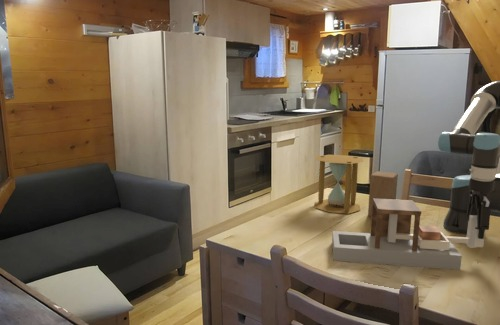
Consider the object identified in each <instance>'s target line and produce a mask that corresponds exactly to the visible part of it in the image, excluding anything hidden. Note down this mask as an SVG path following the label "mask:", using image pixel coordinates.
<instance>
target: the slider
mask: <svg viewBox="0 0 500 325" xmlns="http://www.w3.org/2000/svg"><path fill="white" fill-rule="evenodd" d="M397 217H398V214H389V225H388V238H387V240H388V242H393V243H395V242H396V239H406V240H413V233H410V234H403V233H396V229H397ZM475 227H477V215H470V218H469V226H468V235H467V234H466V236H465V237H464V236H452V235H451V236H449V235H445V234H444V233H443V232H442V231H440V232H441V233H440V241H438V240H422V238H421V237H420V235H419V236H418V246H419V248H422V249H437V250H449V246H450V242H451V243H455V244H457V243H458V244H465V245H466V246H467V247H468V248H472V249H473V248H474V249H476V248H477V247H474V240H475V232H476V229H475Z"/></svg>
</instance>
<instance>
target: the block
mask: <svg viewBox="0 0 500 325" xmlns="http://www.w3.org/2000/svg"><path fill="white" fill-rule="evenodd" d="M441 232H442V231H440V229H438V227H437V226H433V225H419V235H420V237H421V238H422V240H438V241H440V233H441Z"/></svg>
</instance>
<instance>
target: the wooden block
mask: <svg viewBox="0 0 500 325" xmlns="http://www.w3.org/2000/svg"><path fill="white" fill-rule="evenodd" d="M398 175H399V174H398V173H396V172H388V171H379V170H377V171H375V172H373V173H371V175H370V181H369V191H368V192H369V193H368V194H369V196H368V208H367V210H368V212H367V216H368V217H371V218H372V204H373V198H376V199H397V192H398V191H397V189H398V179H399V178H398V177H399V176H398Z"/></svg>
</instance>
